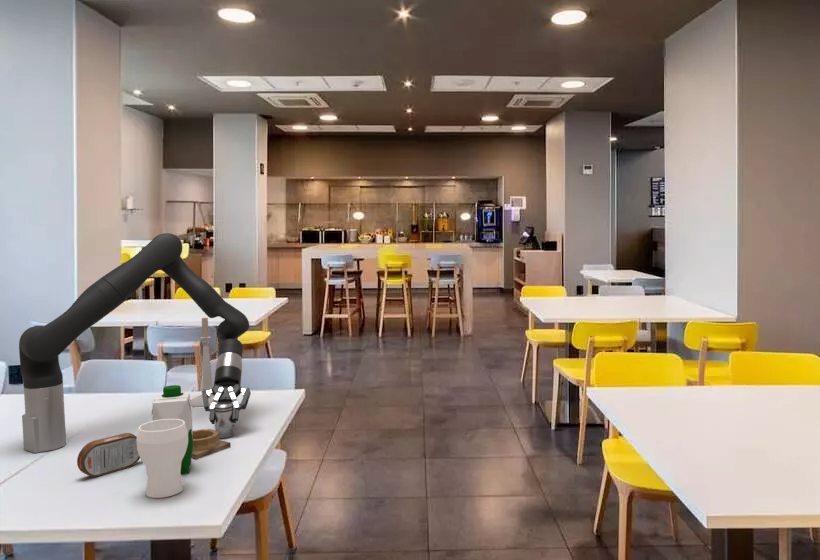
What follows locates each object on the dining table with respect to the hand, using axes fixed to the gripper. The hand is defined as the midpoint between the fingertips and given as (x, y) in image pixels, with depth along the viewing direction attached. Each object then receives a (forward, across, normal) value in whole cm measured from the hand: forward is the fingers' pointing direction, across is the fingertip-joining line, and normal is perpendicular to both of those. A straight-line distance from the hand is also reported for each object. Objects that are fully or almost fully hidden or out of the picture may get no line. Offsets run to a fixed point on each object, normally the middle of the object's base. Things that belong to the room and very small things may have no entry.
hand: (223, 422), depth 172 cm
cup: (+29, -7, -22) cm, 37 cm away
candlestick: (-26, -12, +33) cm, 43 cm away
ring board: (+9, -5, -3) cm, 11 cm away
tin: (+18, -23, -11) cm, 31 cm away
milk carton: (+20, -8, -13) cm, 25 cm away
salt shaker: (+2, 0, +4) cm, 5 cm away
